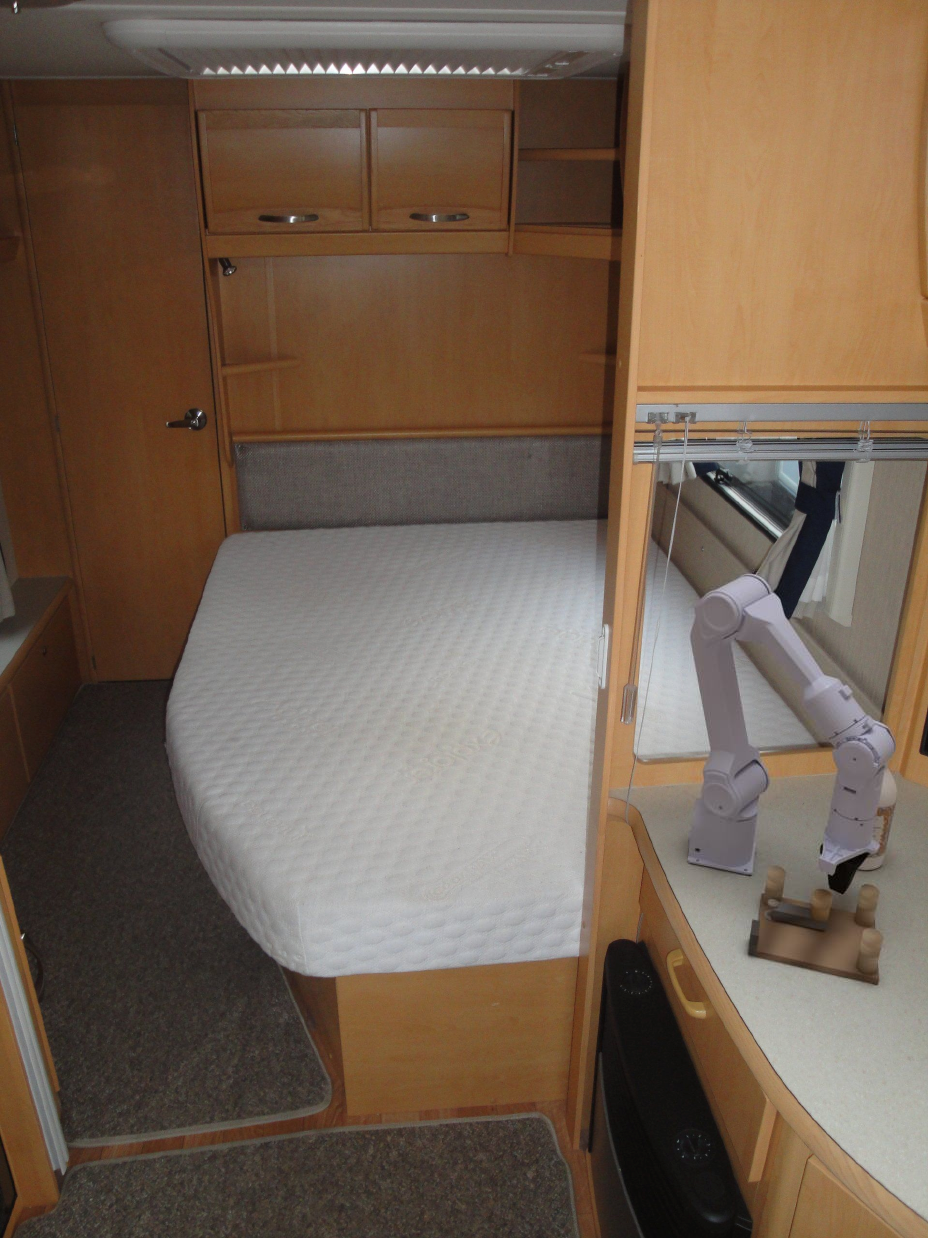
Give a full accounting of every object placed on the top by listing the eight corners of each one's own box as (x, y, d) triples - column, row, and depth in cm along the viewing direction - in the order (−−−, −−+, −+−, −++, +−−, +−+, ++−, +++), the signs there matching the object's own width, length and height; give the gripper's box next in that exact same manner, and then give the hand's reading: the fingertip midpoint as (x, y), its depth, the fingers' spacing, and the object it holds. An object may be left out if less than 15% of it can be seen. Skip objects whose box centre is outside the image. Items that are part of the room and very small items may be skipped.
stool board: (747, 955, 123) (753, 917, 121) (753, 897, 134) (758, 861, 131) (877, 985, 118) (886, 946, 116) (873, 922, 129) (881, 885, 126)
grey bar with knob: (765, 919, 128) (770, 889, 126) (766, 907, 130) (771, 878, 128) (826, 932, 125) (832, 902, 123) (826, 920, 127) (832, 890, 125)
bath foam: (835, 867, 140) (856, 753, 132) (833, 839, 146) (853, 729, 138) (885, 875, 138) (910, 760, 130) (880, 847, 144) (904, 736, 136)
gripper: (863, 846, 117) (846, 930, 123) (903, 796, 127) (885, 876, 132) (808, 823, 121) (794, 906, 127) (851, 777, 131) (836, 855, 137)
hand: (837, 889), depth 130 cm, fingers closed
